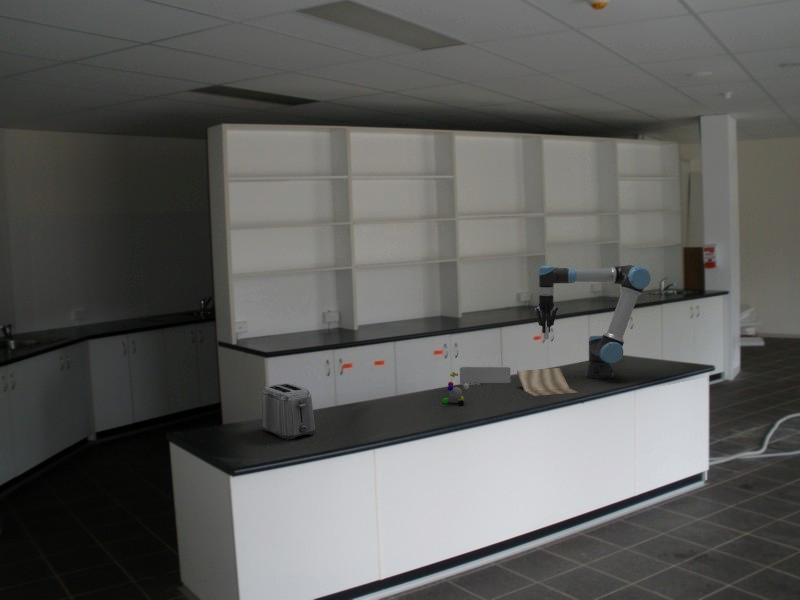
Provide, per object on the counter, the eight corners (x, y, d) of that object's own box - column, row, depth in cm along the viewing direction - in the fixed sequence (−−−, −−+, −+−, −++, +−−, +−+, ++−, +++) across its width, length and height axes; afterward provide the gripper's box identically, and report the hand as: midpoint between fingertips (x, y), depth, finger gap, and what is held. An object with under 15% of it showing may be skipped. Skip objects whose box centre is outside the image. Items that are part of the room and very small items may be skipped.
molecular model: (472, 402, 372) (472, 382, 371) (459, 407, 361) (459, 387, 360) (452, 399, 378) (452, 380, 377) (439, 404, 368) (438, 384, 367)
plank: (559, 369, 403) (559, 367, 403) (568, 389, 394) (569, 388, 393) (516, 372, 398) (517, 370, 397) (525, 393, 388) (526, 391, 387)
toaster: (285, 443, 308) (284, 396, 306) (253, 428, 331) (252, 384, 329) (321, 435, 317) (320, 390, 315) (288, 421, 341) (287, 379, 339)
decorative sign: (510, 384, 411) (510, 365, 410) (510, 385, 408) (510, 367, 407) (450, 383, 415) (450, 365, 414) (450, 385, 411) (449, 367, 410)
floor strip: (569, 390, 393) (569, 388, 392) (578, 394, 383) (578, 392, 383) (526, 393, 387) (526, 391, 387) (534, 398, 377) (534, 395, 377)
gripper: (554, 293, 411) (554, 337, 413) (531, 294, 407) (531, 338, 410) (560, 295, 403) (560, 339, 406) (537, 296, 400) (537, 340, 403)
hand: (546, 338), depth 408 cm, fingers closed
